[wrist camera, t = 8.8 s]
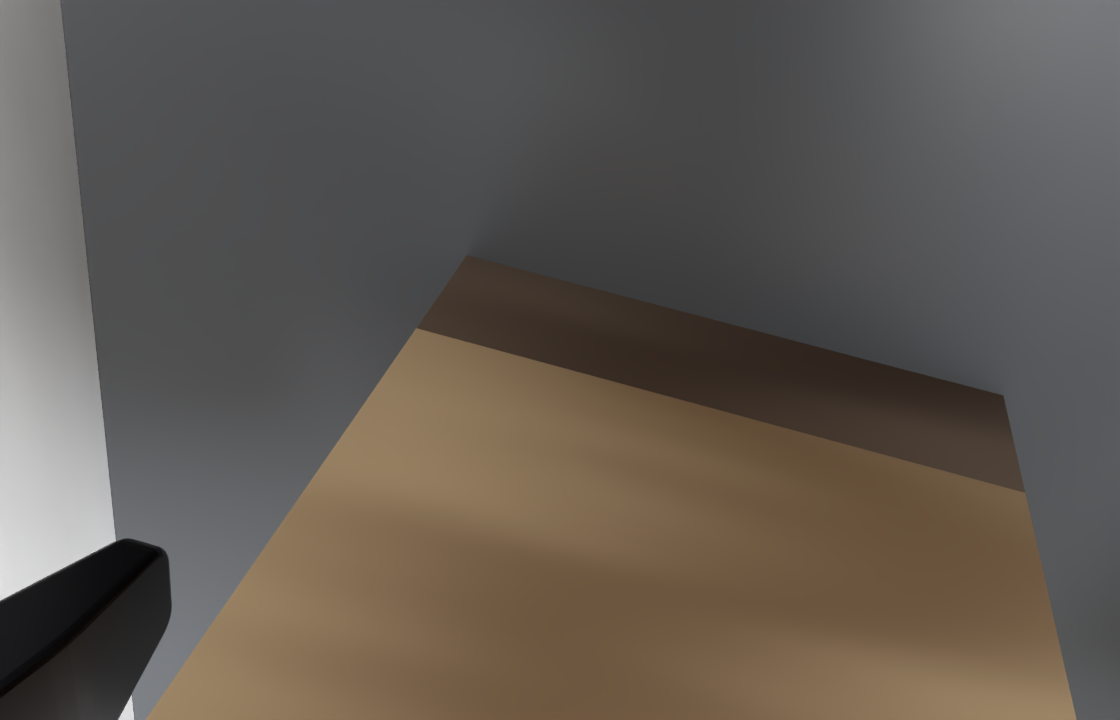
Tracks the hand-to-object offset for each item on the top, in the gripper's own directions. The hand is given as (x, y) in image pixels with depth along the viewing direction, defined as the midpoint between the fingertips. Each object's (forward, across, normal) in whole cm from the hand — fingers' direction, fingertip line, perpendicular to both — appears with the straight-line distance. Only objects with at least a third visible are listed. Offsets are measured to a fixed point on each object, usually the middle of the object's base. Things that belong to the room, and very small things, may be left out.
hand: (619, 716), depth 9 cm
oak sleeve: (+3, 0, 0) cm, 3 cm away
